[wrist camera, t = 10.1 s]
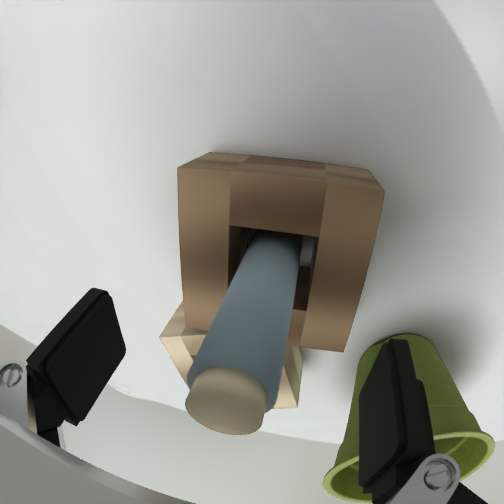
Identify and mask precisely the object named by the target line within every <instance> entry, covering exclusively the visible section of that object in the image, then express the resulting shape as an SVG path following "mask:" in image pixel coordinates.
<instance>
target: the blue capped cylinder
mask: <svg viewBox="0 0 504 504" xmlns="http://www.w3.org/2000/svg"><path fill="white" fill-rule="evenodd" d="M302 238H303V235H301V234H294V233H287V232H279V231H272V230H264V229H257V230H256V232H255V234H254V236H253V238H252V241H251V243H250V245H249V247H248V249H247V251H246V253H245V255H244V257H243V259H242V261H241V263H240V265H239V267H238V269H237V271H236V274H235V276H234V278H233V280H232V282H231V284H230V286H229V288H228V290H227V292H226V294H225V296H224V298H223V300H222V303H221V305H220V307H219V309H218V311H217V313H216V315H215V317H214V319H213V321H212V323H211V325H210V327H209V330H208V332H207V334H206V336H205V338H204V340H203V342H202V344H201V346H200V348H199V350H198V352H197V355H196V357H195V359H194V361H193V363H192V365H191V367H190V369H189V371H188V374H187V384H188V386H189V389H190V392H189V394H188V397H187V399H186V402H185V406H186V409H187V411H188V413H189V414H190V415H191V416H192V418H194V419H195V420H196V421H197V422H198V423H200V424H202V425H203V426H205V427H207V428H209V429H211V430H214V431H217V432H220V433H225V434H230V435H245V434H250V433H253V432H255V431H257V430H258V429H259V428H260V427H261V425H262V421H263V417H264V413H266V412H268V411H269V410H270V409H272V408H273V407H274V405H275V404H276V401H277V397H278V391H279V386H280V381H281V375H282V369H283V364H284V358H285V352H286V346H287V340H288V334H289V328H290V322H291V316H292V309H293V303H294V296H295V289H296V282H297V275H298V268H299V261H300V254H301V246H302Z"/></svg>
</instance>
